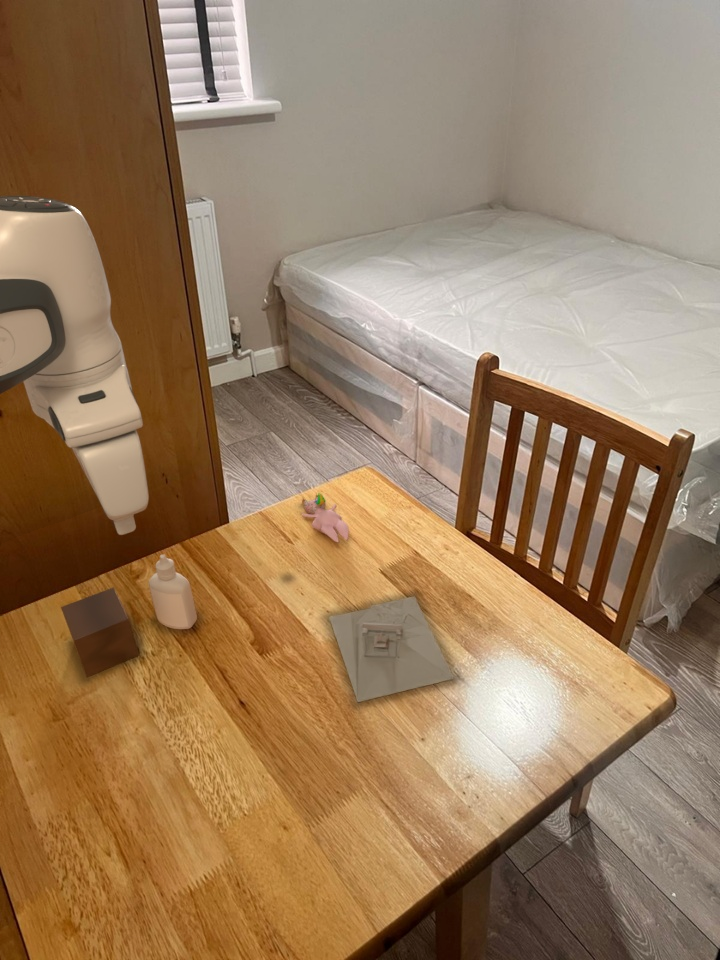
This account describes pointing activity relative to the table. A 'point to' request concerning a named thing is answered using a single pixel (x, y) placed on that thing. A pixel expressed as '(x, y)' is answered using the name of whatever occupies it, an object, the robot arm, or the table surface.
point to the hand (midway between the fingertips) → (112, 504)
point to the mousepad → (389, 649)
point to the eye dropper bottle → (172, 596)
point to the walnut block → (100, 631)
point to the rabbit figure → (325, 518)
